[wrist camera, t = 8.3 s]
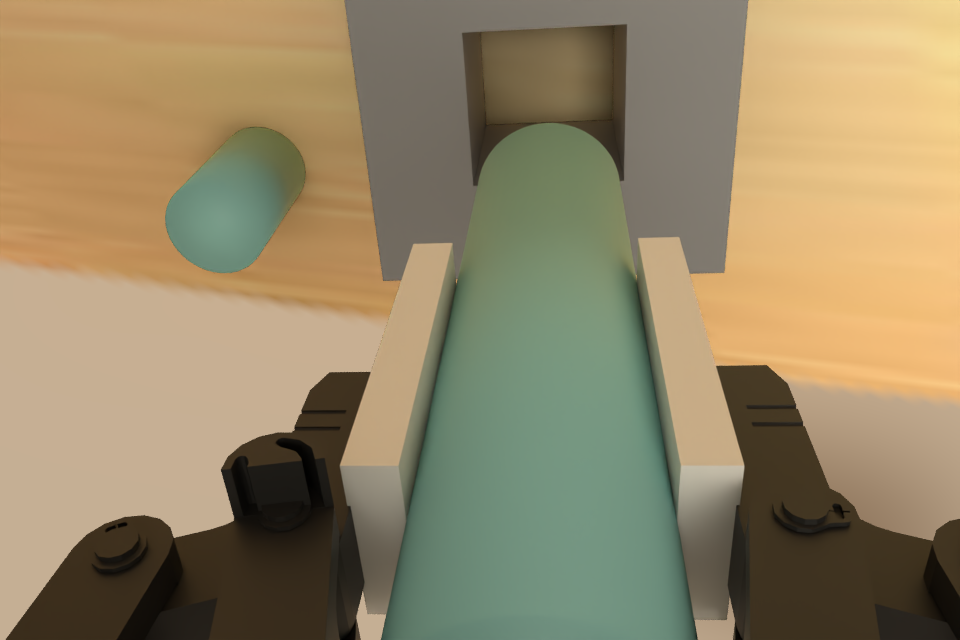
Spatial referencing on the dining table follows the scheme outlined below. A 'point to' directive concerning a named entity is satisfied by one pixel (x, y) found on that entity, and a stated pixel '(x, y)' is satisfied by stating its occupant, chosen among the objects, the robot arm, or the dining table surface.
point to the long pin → (543, 424)
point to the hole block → (628, 137)
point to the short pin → (236, 200)
